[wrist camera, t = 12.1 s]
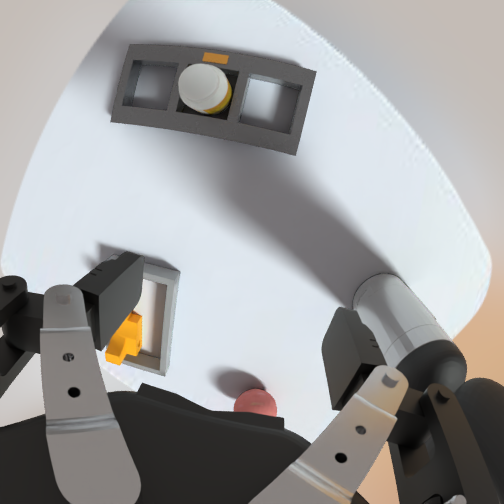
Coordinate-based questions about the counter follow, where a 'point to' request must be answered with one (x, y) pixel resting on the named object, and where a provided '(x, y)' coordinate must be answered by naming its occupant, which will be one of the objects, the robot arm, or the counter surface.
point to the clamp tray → (172, 282)
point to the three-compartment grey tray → (231, 128)
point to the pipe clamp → (125, 340)
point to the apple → (256, 402)
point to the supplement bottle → (205, 89)
